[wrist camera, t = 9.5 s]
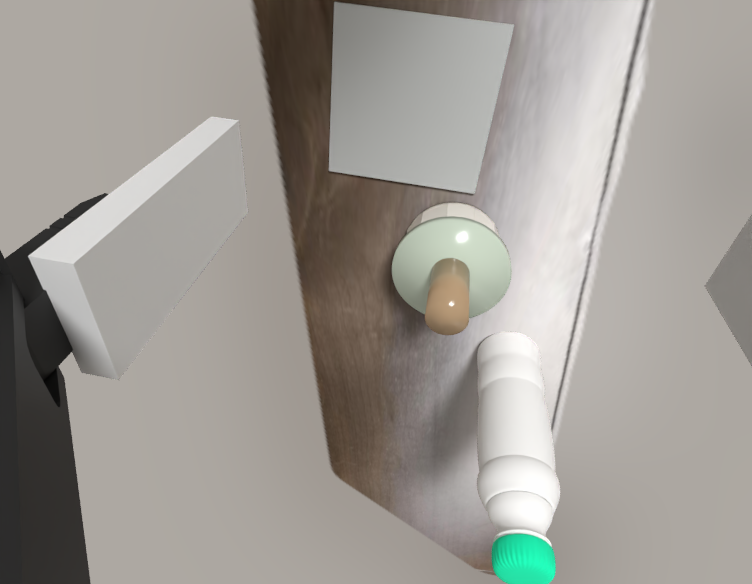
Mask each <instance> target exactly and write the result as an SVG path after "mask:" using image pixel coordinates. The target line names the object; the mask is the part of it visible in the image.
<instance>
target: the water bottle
mask: <svg viewBox="0 0 752 584" xmlns="http://www.w3.org/2000/svg"><path fill="white" fill-rule="evenodd" d="M477 367H478V373H479V374H478V381H477V390H478V397H479V404H478V419H477V448H478V464H479V474H478V478H477V490H478V494H479V497H480V499H481V501H482V503H483V505H484V507H485V509H486V511H487V512H488V516H489V519H490V521H491V522H492V524H493V525H494V527H495V528H496V530H497V535H496V536H495V537H494V539H493V546H492V565H493V569H494V572H495V574H496V575H497V576H498V577H499V578H500V579H501V580H502V581H504V582H506V583H508V584H549V582H551V581H552V579H553V578H554V576H555V568H556V567H555V556H554V552H553V549H552V547H551V542H550V541H549V540H548V539H547V538H546V531H547V529H548V528H549V526H550V524H551V522H552V518H553V514H554V512H555V510H556V507H557V505H558V502H559V498H560V485H559V481H558V478H557V476H556V474H555V456H554V446H553V438H552V431H551V425H550V419H549V414H548V409H547V405H546V401H545V384H544V379H543V375H542V372H541V370H542V364H541V355H540V350H539V348H538V346H537V344H536V343H535V342H534V341H533V340H532V339H531V338H530V337H528V336H526V335H524V334H521V333H518V332H511V331H506V332H499V333H496V334H493V335H491V336H489V337H487V338H486V339H485V340H484V341H483V342H482V343H481V344H480V346H479V348H478V352H477Z"/></svg>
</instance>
